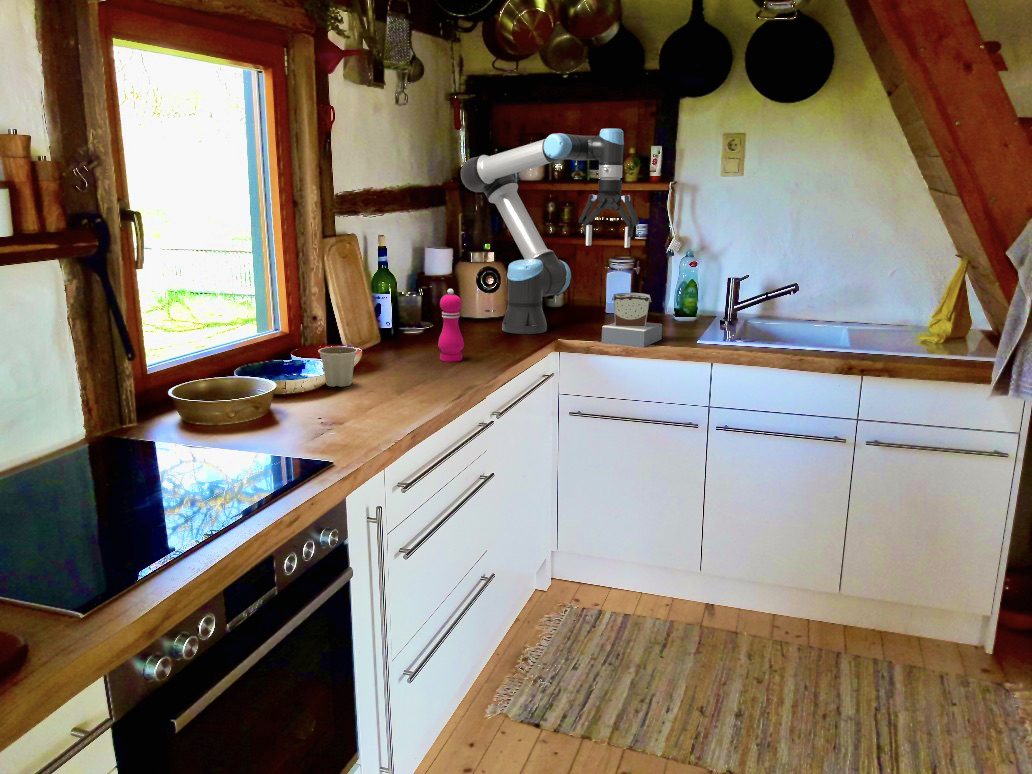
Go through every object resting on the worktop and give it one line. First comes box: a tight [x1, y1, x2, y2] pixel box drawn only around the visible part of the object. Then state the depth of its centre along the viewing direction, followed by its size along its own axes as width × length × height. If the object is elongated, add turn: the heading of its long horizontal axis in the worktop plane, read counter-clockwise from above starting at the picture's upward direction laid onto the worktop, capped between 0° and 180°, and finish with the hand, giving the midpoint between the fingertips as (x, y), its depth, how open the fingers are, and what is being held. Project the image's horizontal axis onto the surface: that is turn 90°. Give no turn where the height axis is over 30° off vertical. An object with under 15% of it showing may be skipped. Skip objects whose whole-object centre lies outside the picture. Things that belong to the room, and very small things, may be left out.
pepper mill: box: [437, 288, 465, 363], centre depth 232 cm, size 7×7×20 cm
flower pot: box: [317, 346, 358, 388], centre depth 204 cm, size 9×9×9 cm
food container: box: [611, 292, 652, 327], centre depth 262 cm, size 12×6×10 cm, turn 86°
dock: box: [601, 321, 663, 348], centre depth 264 cm, size 14×16×5 cm
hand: (607, 246), depth 270 cm, fingers open, 13 cm apart
